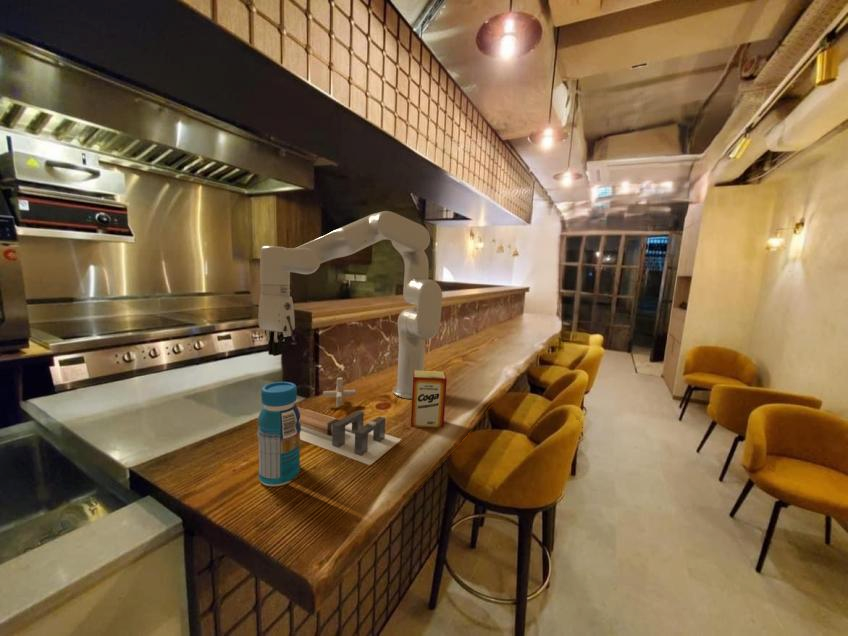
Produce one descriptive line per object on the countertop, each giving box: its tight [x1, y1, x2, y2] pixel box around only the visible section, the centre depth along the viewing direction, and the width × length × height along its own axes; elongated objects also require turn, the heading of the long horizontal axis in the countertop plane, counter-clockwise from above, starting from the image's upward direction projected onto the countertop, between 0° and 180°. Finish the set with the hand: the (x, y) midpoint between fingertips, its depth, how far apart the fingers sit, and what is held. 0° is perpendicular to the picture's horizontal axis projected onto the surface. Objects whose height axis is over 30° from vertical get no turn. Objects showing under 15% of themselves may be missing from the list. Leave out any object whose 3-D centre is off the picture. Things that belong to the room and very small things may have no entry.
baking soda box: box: [410, 370, 448, 429], centre depth 98 cm, size 10×6×16 cm
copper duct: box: [297, 406, 340, 436], centre depth 92 cm, size 18×3×3 cm, turn 63°
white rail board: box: [300, 408, 402, 466], centre depth 90 cm, size 14×34×2 cm, turn 63°
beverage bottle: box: [256, 381, 301, 487], centre depth 71 cm, size 8×8×20 cm
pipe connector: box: [322, 377, 357, 407], centre depth 107 cm, size 10×10×10 cm
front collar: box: [355, 416, 386, 456], centre depth 84 cm, size 10×2×6 cm, turn 153°
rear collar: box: [332, 409, 365, 448], centre depth 87 cm, size 10×2×6 cm, turn 153°
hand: (275, 354), depth 97 cm, fingers closed
